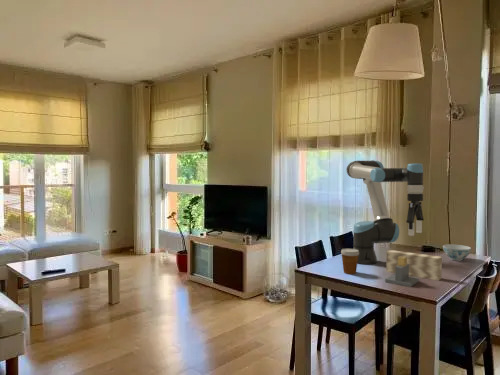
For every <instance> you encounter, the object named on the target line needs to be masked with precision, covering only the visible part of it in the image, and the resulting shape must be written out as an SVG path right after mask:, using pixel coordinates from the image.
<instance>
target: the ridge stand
mask: <svg viewBox="0 0 500 375" xmlns="http://www.w3.org/2000/svg"><path fill="white" fill-rule="evenodd" d="M384 281H385V283H387V284H393V285H394V284H395V285H398V286H403V287H409V288H411V287H413V286H414V285H416V284H417V283H419V281H420V277H415V276H409V264H407V257H403V256H400V257H398V266H396V268H395V273H393V274H392V275H390V276H388V277H387V278H384Z"/></svg>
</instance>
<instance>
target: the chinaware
mask: <svg viewBox="0 0 500 375" xmlns="http://www.w3.org/2000/svg"><path fill="white" fill-rule="evenodd" d="M442 249H443V251H444V253H445V254H446V256H447V257H448V258H449V259H450V260H452V261H456V262H462V261H463V259H465V258H467V257H468V256H469V254H470V253H471V251H472V247H470V246H467V245H462V244H453V243H452V244H449V243H448V244H443V245H442Z"/></svg>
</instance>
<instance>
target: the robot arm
mask: <svg viewBox="0 0 500 375" xmlns="http://www.w3.org/2000/svg"><path fill="white" fill-rule="evenodd" d="M346 174H347V176H348V177H350V178H352V179H356V180H357V179H359V180H362V181H363V184H365V185H366V188H367V192H368V196H369V201H370V205H371V210H372V214H373V217H374V220H373V221H371V220H370V221H368V220H367V221H366V220H365V221H357V222H356V223H355V224H353V231H352V232H353V248H352V249H357V250H358V251H359V255H358V261H357V264H361V265H373V264H376V263H378V257H377V254H376V251H375V244H389V243H391V244H392V243H396V242H397V240H398V239H399V236H400V227H399V225H398V223H396V222H394V221H393V218H392V217H390V215H389V211H388V207H387V202H386V197H385V195H384V191H383V187H382V183H406V184H407V186H406V187H407V188H406V189H407V191H406V192H407V198H406V200H407V201H408V202H409V203H408V210H407V217H406V218H407V219H406V221H405V222H406V223H407V224H408V225H407V226H408V227H407V229H408V230H407V231H408V232H407V235H408V236H409V237H414V236H415V233H418V234H422V233H423V221H424V220H425V218H424V215H423V209H422V208H423V206H422V202H423V201H424V194H423V193H424V189H425V187H424V165H423V164H422V163H408V164H407V167H391V168H390V167H384V165H383V163H382V162H381V161H379V160H375V159H373V160H354V161H352V162H350V163H349V164H348V165H347V167H346ZM415 218H416V220H415Z"/></svg>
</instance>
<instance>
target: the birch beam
mask: <svg viewBox="0 0 500 375" xmlns="http://www.w3.org/2000/svg"><path fill="white" fill-rule="evenodd" d="M400 256H403V257H407V264H409V277H415V278H421V279H428V280H433V281H440V280H441V279H442V269H443V266H442V262H443V258H442V256H439V255H430V254H424V253H423V254H422V253H415V252H409V251H408V252H407V251H399V250H393V249H389V250H387V251H386V263H385V265H386V268H385V269H386V271H385V272H387V273H393V274H395V268H396V266H398V257H400Z"/></svg>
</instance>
